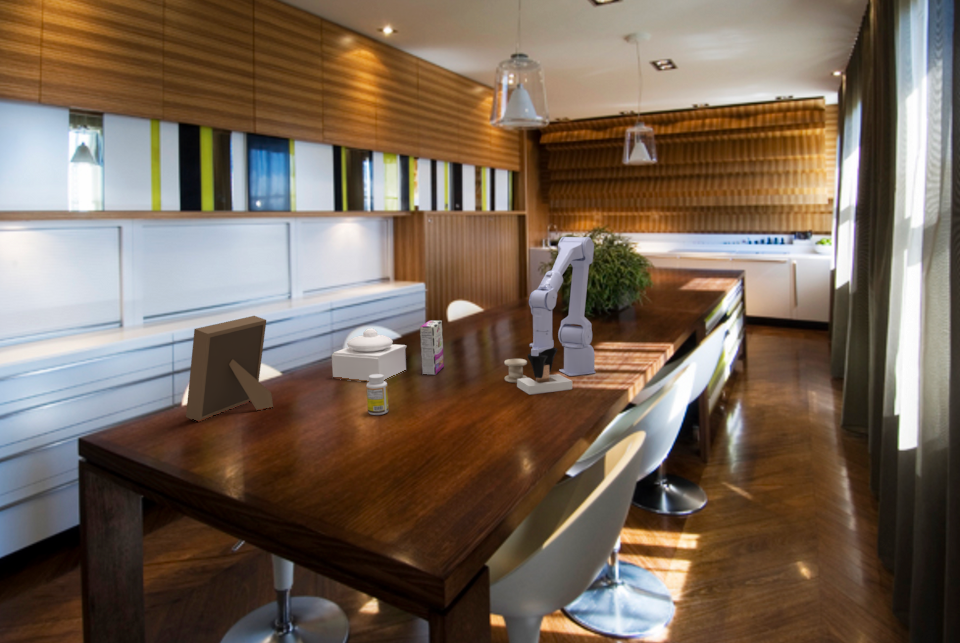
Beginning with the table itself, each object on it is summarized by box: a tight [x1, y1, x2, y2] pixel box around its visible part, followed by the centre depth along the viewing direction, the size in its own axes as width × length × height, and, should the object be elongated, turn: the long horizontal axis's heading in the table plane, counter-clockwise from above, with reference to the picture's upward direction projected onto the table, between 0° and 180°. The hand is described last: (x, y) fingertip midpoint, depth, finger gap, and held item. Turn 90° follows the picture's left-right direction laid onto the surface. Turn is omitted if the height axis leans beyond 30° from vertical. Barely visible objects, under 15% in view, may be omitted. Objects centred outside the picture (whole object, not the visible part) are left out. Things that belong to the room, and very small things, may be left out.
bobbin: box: [504, 358, 528, 384], centre depth 205 cm, size 7×7×6 cm
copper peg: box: [535, 363, 551, 383], centre depth 195 cm, size 4×4×7 cm
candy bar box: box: [419, 320, 445, 376], centre depth 217 cm, size 11×5×16 cm, turn 168°
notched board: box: [516, 373, 573, 395], centre depth 195 cm, size 14×9×2 cm, turn 110°
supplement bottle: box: [365, 374, 390, 416], centre depth 174 cm, size 6×6×10 cm
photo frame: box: [185, 315, 274, 421], centre depth 176 cm, size 15×22×25 cm
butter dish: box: [331, 327, 408, 381], centre depth 215 cm, size 18×18×16 cm
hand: (542, 374), depth 195 cm, fingers open, 7 cm apart
